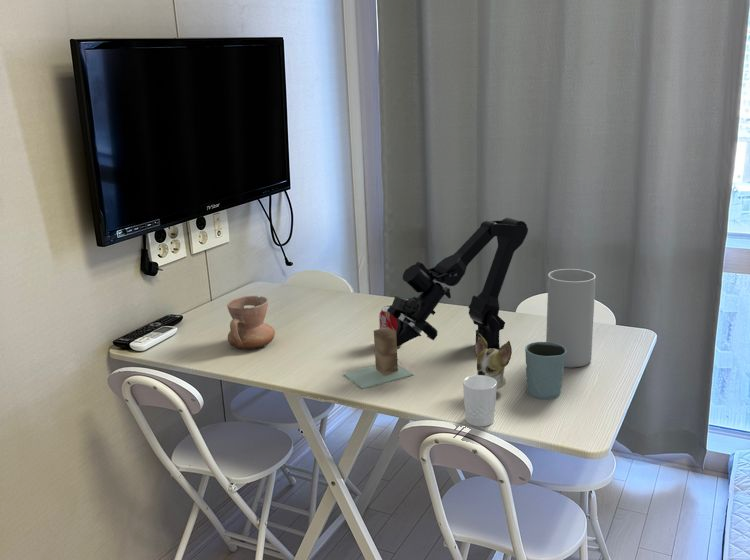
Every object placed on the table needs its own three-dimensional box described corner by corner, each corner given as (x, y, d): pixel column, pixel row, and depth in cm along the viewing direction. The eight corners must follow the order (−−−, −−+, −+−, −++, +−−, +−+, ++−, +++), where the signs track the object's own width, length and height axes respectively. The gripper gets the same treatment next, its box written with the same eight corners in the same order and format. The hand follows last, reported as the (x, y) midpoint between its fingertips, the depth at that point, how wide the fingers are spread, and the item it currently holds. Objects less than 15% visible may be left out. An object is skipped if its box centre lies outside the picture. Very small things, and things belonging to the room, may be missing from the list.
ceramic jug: (248, 332, 240) (243, 290, 236) (286, 337, 234) (282, 294, 230) (214, 353, 225) (208, 309, 220) (254, 359, 218) (248, 314, 214)
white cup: (484, 431, 171) (484, 392, 169) (456, 421, 177) (456, 383, 174) (502, 418, 177) (503, 380, 174) (475, 409, 182) (475, 372, 179)
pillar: (389, 366, 208) (387, 326, 204) (398, 372, 204) (396, 331, 200) (376, 370, 206) (373, 330, 202) (384, 376, 202) (381, 335, 198)
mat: (393, 362, 212) (393, 360, 212) (413, 375, 203) (413, 374, 203) (343, 375, 205) (343, 373, 205) (362, 389, 196) (362, 387, 195)
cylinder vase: (568, 372, 201) (572, 284, 194) (536, 358, 211) (538, 274, 204) (600, 361, 207) (605, 276, 200) (567, 348, 217) (571, 266, 210)
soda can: (401, 350, 220) (400, 312, 217) (378, 349, 222) (376, 311, 218) (405, 341, 227) (404, 304, 223) (382, 340, 228) (381, 304, 225)
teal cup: (516, 390, 191) (516, 347, 188) (543, 380, 197) (544, 338, 193) (545, 404, 183) (547, 359, 180) (573, 393, 189) (574, 349, 185)
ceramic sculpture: (463, 393, 191) (462, 339, 187) (481, 381, 197) (482, 329, 193) (498, 404, 184) (498, 348, 180) (516, 392, 190) (517, 338, 186)
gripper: (391, 277, 210) (359, 321, 208) (427, 294, 194) (392, 341, 192) (415, 298, 215) (384, 341, 213) (452, 316, 200) (418, 363, 198)
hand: (393, 346), depth 204 cm, fingers closed
